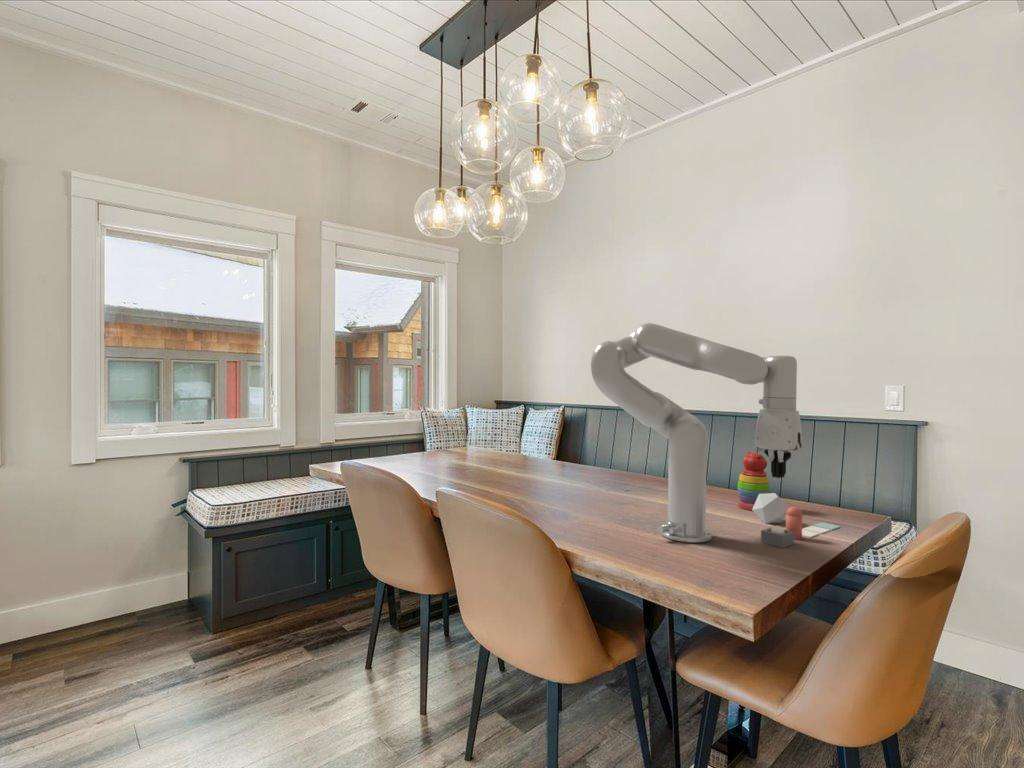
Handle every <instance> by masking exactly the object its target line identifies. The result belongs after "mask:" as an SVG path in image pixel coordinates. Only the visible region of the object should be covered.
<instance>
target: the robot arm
mask: <svg viewBox="0 0 1024 768" xmlns="http://www.w3.org/2000/svg"><path fill="white" fill-rule="evenodd" d="M650 357H652V358H654V359H658V360H662V361H665V362H668V363H671V364H675V365H678V366H680V367H684V368H686V369H690V370H694V371H700V372H702V371H703V372H708V373H711V374H714V375H718V376H721V377H724V378H727V379H731V380H732V381H735V382H737V383H740V384H742V385H748V386H749V385H750V386H751V385H758V384H759V383H762V384H763V388H762V389H763V392H762V393H763V397H762V399H761V398H760V399H759V400H758V404H759V405H762V408H761V409H759V411H758V415H757V419H756V426H755V437H754V438H755V439H754V440H755V441H754V442H755V446H756V447H757V451H758V452H759V453H760V452H761V453H763V454H765V455H766V456H767V458H768V460H769V461H770V473H771V477H772V478H777V479H780V478H781V479H782V478H785V476H786V473H787V462H788V461H789V460H790V459H791V458H793V457H798V456H802V451H801V449H802V447H803V434H802V433H803V431H802V422H801V416H800V412H799V410H797V383H798V381H797V378H798V377H797V376H798V375H797V374H798V363H797V362H798V361H797V359H796V358H795V357H794V356H793V355H770V356H767V357H765V356H764V357H763V356H760V355H759V354H756V353H753V352H748V351H747V350H746V351H745V350H743V349H739V348H736V347H733V346H728V345H725V344H723V343H718V342H715V341H711V340H708V339H706V338H704V337H700V336H697V335H693V334H690V333H686V332H682V331H680V330H676V329H673V328H669V327H666V326H664V325H663V326H662V325H660V324H657V323H652V322H647V323H643V324H641V325H640V326H638V327H637V329H636V330H635V331H633V332H631V333H629V334H627V335H625V336H623V337H621V338H618V339H616V340H614V341H612V340H611V341H610V340H606V341H602V342H601V343H599V344H598V345H597V346H595V348H594V350H593V351H592V355H591V361H590V370H591V375H592V379H593V381H594V383H595V385H596V387H597V388H598V390H599V391H600V392H601V393H602V395H604V396H605V397H606V398H608V399H609V400H610V401H612V402H613V403H614V404H616V405H617V406H619V407H620V408H621V409H622V410H624V411H625V412H626V413H628V414H629V415H630V416H632V417H633V418H635V419H636V420H637V421H638V422H639V423H641V424H642V425H643V426H645V427H648V428H651V429H652V430H654V431H656V433H659V434H660V435H661V436H663V437H664V438H666V439H667V440H668V458H667V459H668V460H667V461H668V464H667V465H668V469H667V470H668V471H667V474H668V480H667V484H668V486H667V489H668V490H667V491H668V492H667V493H668V495H667V496H668V497H667V503H668V504H667V518H666V519H665V523H664V524H661V525H658V526H657V527H656V531H657V532H658V534H661V535H662V536H664V537H665V538H667V539H669V540H673V541H677V542H683V543H692V544H693V543H705V542H709V541H711V540H712V538H713V534H712V532H711V531H710V530H708V529H707V526H706V525H707V524H706V522H707V519H706V518H707V457H708V456H707V455H708V431H707V429H706V426H705V424H703V422H702V421H701V420H700V419H699V418H698V417H696V416H695V415H693V414H691V413H690V412H689V411H687V410H686V409H684V408H683V407H681V406H680V405H679V404H677V403H675V402H674V401H673V400H672V399H670V398H669V397H667V396H665V395H664V394H663V393H661V392H658V391H653V390H652V389H650V388H649V387H647V386H646V385H644V384H643V383H641V382H640V381H639V380H638V379H636V378H635V377H633V376H632V375H631V374H629V373H628V372H627V371H626V368H628V367H631V366H632V365H635V364H638V363H640V362H643V361H644V360H646V359H649V358H650Z"/></svg>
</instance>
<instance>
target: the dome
mask: <svg viewBox="0 0 1024 768" xmlns="http://www.w3.org/2000/svg"><path fill="white" fill-rule="evenodd" d="M771 527H772V529H771V532H774V533H778V534H784V533H785V531H784V530H785V529H784V528H783V527H782V526H780V525H774V526H771Z"/></svg>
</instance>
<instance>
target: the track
mask: <svg viewBox="0 0 1024 768" xmlns="http://www.w3.org/2000/svg"><path fill="white" fill-rule="evenodd" d="M830 531H831V530H829V529H824V528H820V527H815V526H813V525H810V526H806V527H802V537H805V538H813V537H816V536H819V535H822V534H825V533H829V532H830Z"/></svg>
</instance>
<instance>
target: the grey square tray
mask: <svg viewBox="0 0 1024 768" xmlns="http://www.w3.org/2000/svg"><path fill="white" fill-rule="evenodd" d="M772 527H773V526H771V527H769V528H765V529H761V530H760V543H763V544H766V545H771V546H774V547H777V548H782V549H784V548H787V547H790V546H793V545H795V540H794V532H792V531H788V530H786V529H784V531H785V533H784V534H778V533H774V532H771V529H772Z"/></svg>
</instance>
